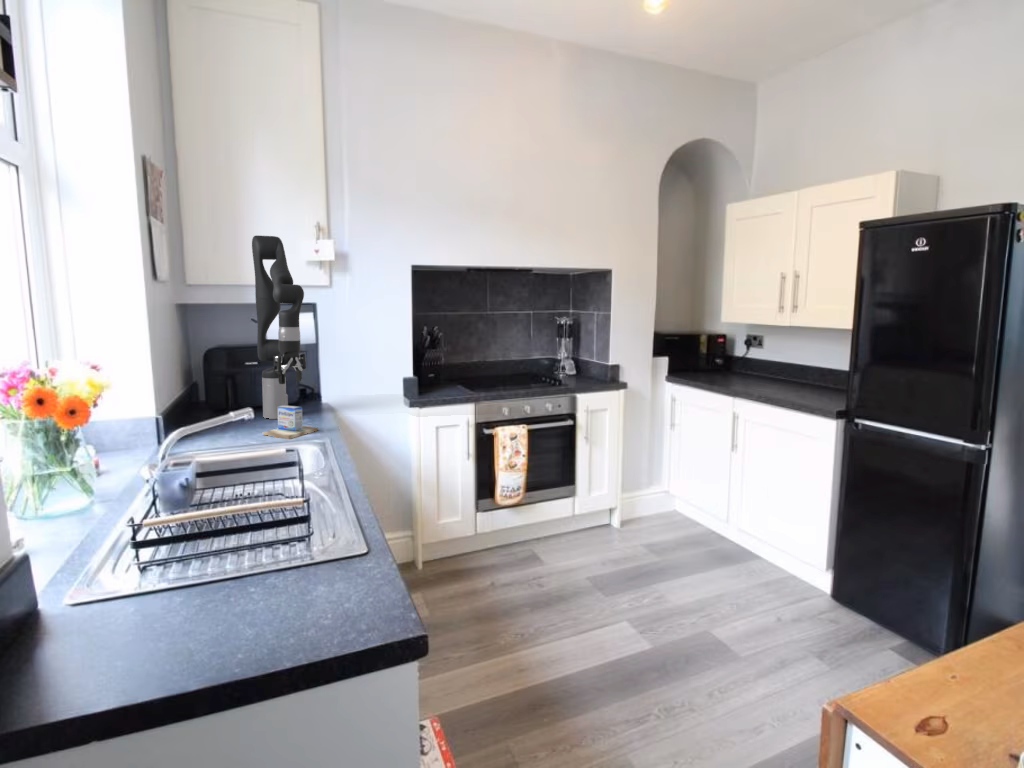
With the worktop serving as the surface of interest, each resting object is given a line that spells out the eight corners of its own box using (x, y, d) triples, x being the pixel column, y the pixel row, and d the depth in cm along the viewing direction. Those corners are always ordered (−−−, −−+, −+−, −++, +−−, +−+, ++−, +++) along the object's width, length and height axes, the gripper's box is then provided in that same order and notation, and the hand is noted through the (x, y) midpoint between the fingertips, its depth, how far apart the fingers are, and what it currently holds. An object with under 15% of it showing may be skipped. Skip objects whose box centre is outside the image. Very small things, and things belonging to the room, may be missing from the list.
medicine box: (277, 429, 209) (276, 406, 207) (285, 426, 213) (285, 404, 212) (295, 431, 206) (294, 408, 205) (302, 428, 211) (302, 406, 209)
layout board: (293, 427, 219) (293, 423, 219) (318, 430, 215) (318, 426, 215) (262, 435, 204) (262, 431, 204) (288, 439, 200) (288, 435, 200)
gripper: (294, 337, 213) (295, 379, 215) (266, 339, 199) (268, 384, 202) (310, 338, 210) (311, 381, 212) (283, 340, 197) (284, 385, 199)
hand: (290, 382), depth 207 cm, fingers open, 8 cm apart
